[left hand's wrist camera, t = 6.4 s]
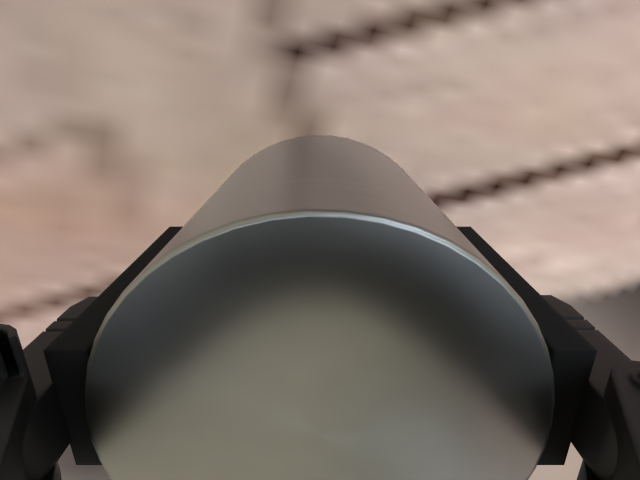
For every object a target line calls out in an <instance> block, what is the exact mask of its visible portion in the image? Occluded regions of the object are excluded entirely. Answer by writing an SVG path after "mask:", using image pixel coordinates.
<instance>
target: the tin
mask: <svg viewBox="0 0 640 480" xmlns="http://www.w3.org/2000/svg"><path fill="white" fill-rule="evenodd" d="M84 395H85V410H86V419H87V423H88V427H89V432H90V436H91V440H92V442H93V445H94V447H95V450H96V452H97V455H98V457H99V460H100V462H101V464H102V465H103V467H104V468H105V470H106V472H107V474H108V475H109V477H110V479H111V480H528V479H529V477H530V476H531V474H532V473H533V471H534V470H535V468H536V466H537V464H538V462H539V460H540V457H541V455H542V453H543V451H544V449H545V446H546V443H547V440H548V436H549V433H550V429H551V426H552V420H553V412H554V404H555V394H554V375H553V370H552V365H551V361H550V356H549V352H548V348H547V345H546V343H545V340H544V338H543V336H542V333H541V331H540V328H539V326H538V324H537V322H536V320H535V319H534V317H533V316H532V314H531V312H530V311H529V309H528V308H527V306H526V304H525V303H524V301H523V300H522V298H521V297H520V296H519V295H518V294H517V293H516V292H515V290H514V289H513V288H512V287H511V286H510V285H509V284H508V283H507V281H506V280H505V279H504V278H503V277H502V276H501V275H500V274H499V273H498V271H497V270H496V269H495V268H494V267H493V266H492V265H491V264H490V263H489V262H488V261H487V260H486V258H485V257H484V256H483V255H482V254H481V253H480V252H479V251H478V250H477V249H476V248H475V247H474V246H473V244H472V243H471V242H470V241H469V240H468V239H467V238H466V237H465V236H464V235H463V234H462V233H461V231H460V230H459V229H458V228H457V227H456V226H455V225H454V224H453V223H452V222H451V221H450V220H449V219H448V217H447V216H446V215H445V214H444V213H443V212H442V211H441V210H440V209H439V208H438V207H437V206H436V205H435V203H434V202H433V201H432V200H431V199H430V198H429V197H428V196H427V195H426V194H425V193H424V192H423V190H422V189H421V188H420V187H419V186H418V185H417V184H416V183H415V182H414V181H413V180H412V179H411V178H410V176H409V175H408V174H407V173H406V172H405V171H404V170H403V169H402V168H401V167H400V166H399V165H398V164H396V163H395V162H394V161H393V160H392V159H391V158H389V157H388V156H386V155H384V154H383V153H381V152H380V151H378V150H377V149H374V148H372V147H370V146H368V145H366V144H363V143H361V142H357V141H354V140H351V139H348V138H342V137H336V136H321V135H313V136H304V137H297V138H293V139H289V140H285V141H282V142H279V143H277V144H274V145H272V146H269V147H267V148H265V149H264V150H262V151H260V152H258V153H257V154H255V155H253V156H252V157H251V158H249V159H248V160H247V161H246V162H244V163H243V164H242V165H241V166H240V167H239V168H238V169H237V170H236V171H235V172H234V173H233V174H232V175H231V176H230V177H229V178H228V179H227V180H226V181H225V182H224V184H223V185H222V186H221V187H220V188H219V189H218V190H217V191H216V192H215V193H214V194H213V195H212V196H211V198H210V199H209V200H208V201H207V202H206V203H205V204H204V205H203V206H202V207H201V208H200V209H199V210H198V211H197V213H196V214H195V215H194V216H193V217H192V218H191V219H190V220H189V221H188V222H187V223H186V224H185V225H184V226H183V228H182V229H181V230H180V231H179V232H178V233H177V234H176V235H175V236H174V237H173V238H172V239H171V240H170V242H169V243H168V244H167V245H166V246H165V247H164V248H163V249H162V250H161V251H160V252H159V253H158V254H157V255H156V257H155V258H154V259H153V260H152V261H151V262H150V263H149V264H148V265H147V266H146V267H145V268H144V269H143V271H142V272H141V273H140V274H139V275H138V276H137V277H136V278H135V279H134V280H133V281H132V282H131V283H130V284H129V286H128V287H127V288H126V289H125V290H124V291H123V292H122V294H121V295H120V296H119V298H118V299H117V301H116V302H115V303H114V305H113V306H112V308H111V309H110V310H109V312H108V313H107V315H106V317H105V319H104V321H103V323H102V325H101V327H100V329H99V331H98V333H97V335H96V337H95V340H94V343H93V347H92V350H91V354H90V357H89V360H88V364H87V372H86V381H85V391H84Z"/></svg>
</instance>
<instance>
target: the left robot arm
mask: <svg viewBox="0 0 640 480" xmlns="http://www.w3.org/2000/svg"><path fill="white" fill-rule="evenodd" d="M182 228H183V227H169V228H168V229H167V230H166V231H165V232H164V233H163V234H162V235H161V236H160V237H159V238H158V239H157V240H156V241H155V242H154V243H153V244H152V245H151V246H150V247H149V248H148V249H147V250H146V251H145V252H144V253H143V254H142V255H140V256H139V257H138V258H137V259H136V260H135V261H134V262H133V263H132V264H131V265H130V266H129V267H128V268H127V269H126V270H125V271H124V272H123V273H122V274H121V275H120V276H119V277H118V278H117V279H116V280H115V281H114V282H113V283H112V284H111V285H110V286H109V287H108V288H107V289H106V290H105V291H104V292H103V293H102V294H101V295H100V296H99V297H88V298H86V299H84V300H82V301H80V302H79V303H77V304H75V305H73V306H71V307H70V308H69V309H67V310H66V311H65V312H64V313H63V314H62V315H61V316H60V317H59V318H58V319H57V321H54V322H53V323H52V324H51V325H50V326H49V327H48V328H47V329H46V332H42V333H41V334H40V335H39V336H38V337H37V338H36V339H34V340H33V341H32V342H31V343H30V344H29V345H28V346H27V347H26V348H25V349H23V350H22V346H21V343H20V340H19V337H18V334H17V330H16V329H15V328H13V327H12V326H10V325H4V324H0V480H61V473H60V468H59V465H58V462H57V461H58V460H59V458H60V457H61V455H62V454H63V452H64V451H65V449H66V448H67V447H68V445H69V444H70V445H71V448H72V452H73V455H74V459H75V462H76V465H102V464H101V462H100V460H99V457H98V455H97V452H96V450H95V447H94V445H93V442H92V440H91V436H90V432H89V427H88V423H87V419H86V410H85V395H84V391H85V381H86V372H87V364H88V360H89V357H90V354H91V350H92V347H93V343H94V340H95V337H96V335H97V333H98V331H99V329H100V327H101V325H102V323H103V321H104V319H105V317H106V315H107V313H108V312H109V310H110V309H111V308H112V306H113V305H114V303H115V302H116V301H117V299H118V298H119V296H120V295H121V294H122V292H123V291H124V290H125V289H126V288H127V287H128V286H129V284H130V283H131V282H132V281H133V280H134V279H135V278H136V277H137V276H138V275H139V274H140V273H141V272H142V271H143V269H144V268H145V267H146V266H147V265H148V264H149V263H150V262H151V261H152V260H153V259H154V258H155V257H156V255H157V254H158V253H159V252H160V251H161V250H162V249H163V248H164V247H165V246H166V245H167V244H168V243H169V242H170V240H171V239H172V238H173V237H174V236H175V235H176V234H177V233H178V232H179V231H180V230H181V229H182ZM457 228H458V229H459V230H460V231H461V233H462V234H463V235H464V236H465V237H466V238H467V239H468V240H469V241H470V242H471V243H472V244H473V246H474V247H475V248H476V249H477V250H478V251H479V252H480V253H481V254H482V255H483V256H484V257H485V258H486V260H487V261H488V262H489V263H490V264H491V265H492V266H493V267H494V268H495V269H496V270H497V271H498V273H499V274H500V275H501V276H502V277H503V278H504V279H505V280H506V281H507V283H508V284H509V285H510V286H511V287H512V288H513V289H514V290H515V292H516V293H517V294H518V295H519V296H520V297H521V298H522V300H523V301H524V303H525V304H526V306H527V308H528V309H529V311H530V312H531V314H532V316H533V317H534V319H535V320H536V322H537V324H538V326H539V328H540V331H541V333H542V336H543V338H544V340H545V343H546V345H547V348H548V352H549V356H550V361H551V365H552V370H553V375H554V394H555V404H554V412H553V420H552V426H551V429H550V433H549V436H548V440H547V443H546V446H545V449H544V451H543V453H542V455H541V457H540V460H539V462H538V464H537V465H564V463H565V460H566V456H567V453H568V450H569V446H570V443H571V442H572V444H573V445H574V447H575V448H576V450H577V451H578V453H579V454H580V455H581V457H582V458H583V462H582V465H581V468H580V471H579V474H578V478H577V480H640V361H632V360H630V359H629V358H628V357H627V356H626V355H625V354H624V353H623V352H621V351H620V350H619V349H618V348H617V347H616V346H615V345H614V344H613V343H611V342H610V341H609V340H608V339H607V338H606V337H605V336H604V335H603V334H601V333H600V332H599V331H598V330H595V327H594V326H593V325H592V324H590V323H589V322H588V321H587V320H584V317H583V316H581V315H580V314H579V313H578V312H577V311H576V310H575V309H574V308H573V307H572V306H570V305H569V304H567V303H565V302H563V301H561V300H559V299H557V298H555V297H553V296H551V295H540V294H539V293H538V292H537V291H536V290H535V289H534V288H533V287H532V286H530V285H529V284H528V283H527V282H526V281H525V280H524V279H523V278H522V277H521V276H520V275H519V274H518V273H517V272H516V271H515V270H514V269H513V268H512V267H511V266H510V265H509V264H508V263H507V262H506V261H505V260H504V259H503V258H502V257H501V256H500V255H499V254H498V253H497V252H496V251H495V250H494V249H493V248H492V247H491V246H490V245H489V244H488V243H487V242H485V241H484V240H483V239H482V238H481V237H480V236H479V235H478V234H477V233H476V232H475V231H474V230H473V229H472V228H471V227H457Z"/></svg>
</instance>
